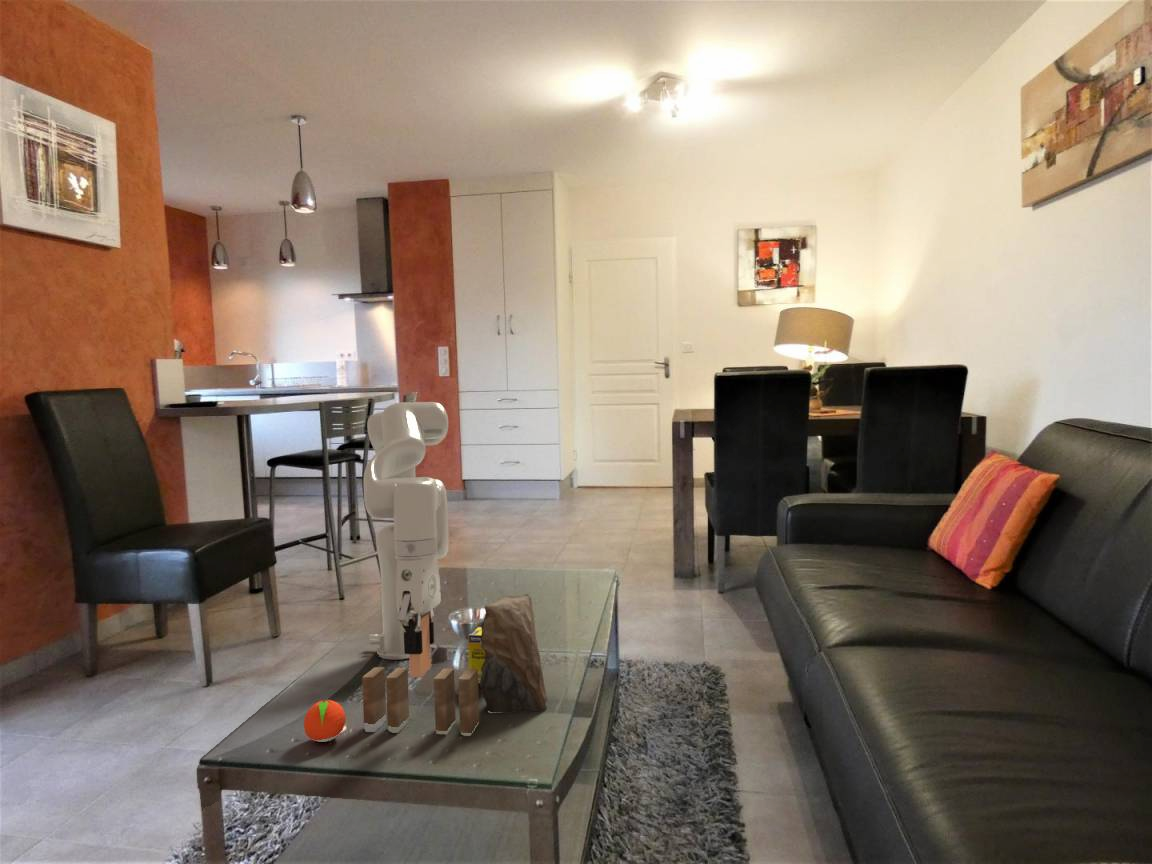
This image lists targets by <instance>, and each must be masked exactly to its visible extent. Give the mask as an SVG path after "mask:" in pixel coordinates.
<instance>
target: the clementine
mask: <svg viewBox="0 0 1152 864" xmlns="http://www.w3.org/2000/svg"><path fill="white" fill-rule="evenodd" d="M346 721H347V720H346V713H345V710H344V708H343V706H341V705H340V703H338V702H336V701H334V700H332V699H324V700H320V701H318V702H316V703H315V704H313V705H312V706H311V707H310V708H309V710H307V713H306V714H305V716H304V718H303V729H304V730H303V731H304V733H305V735H306V736H307V738H308V739H310V738H311V739H314V740H322V739H327V738H331V737H334V736H336V735H338V734H339V733H340V732H341V731H343V730H344V727H345V725H346ZM341 733H342V732H341ZM341 733H340V734H341ZM311 739H310V740H311Z"/></svg>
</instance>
